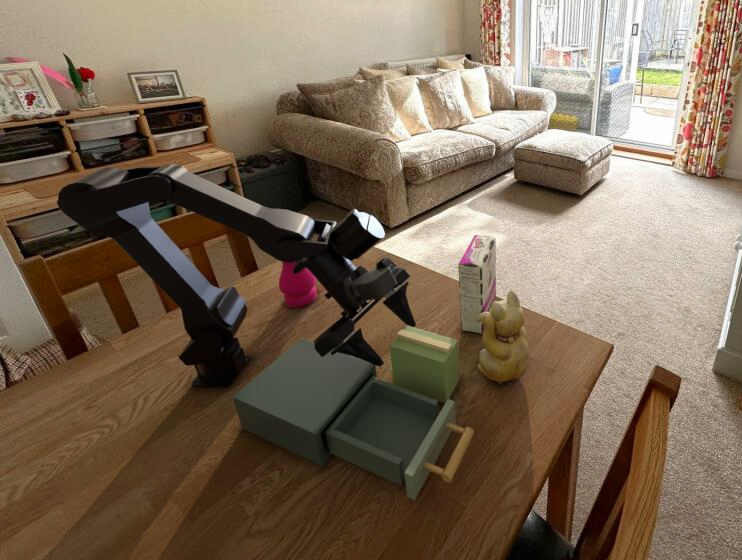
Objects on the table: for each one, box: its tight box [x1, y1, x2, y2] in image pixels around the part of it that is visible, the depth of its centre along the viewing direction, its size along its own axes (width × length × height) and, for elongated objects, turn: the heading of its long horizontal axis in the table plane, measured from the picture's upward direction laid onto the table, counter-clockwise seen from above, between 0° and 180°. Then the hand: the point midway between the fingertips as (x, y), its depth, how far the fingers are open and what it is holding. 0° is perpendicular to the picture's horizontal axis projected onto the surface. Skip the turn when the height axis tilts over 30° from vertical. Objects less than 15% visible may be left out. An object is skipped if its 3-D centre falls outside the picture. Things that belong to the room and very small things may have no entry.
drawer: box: [325, 376, 475, 501], centre depth 58 cm, size 19×11×5 cm, turn 70°
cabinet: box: [232, 338, 378, 467], centre depth 63 cm, size 16×13×7 cm
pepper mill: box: [278, 261, 318, 308], centre depth 86 cm, size 7×7×20 cm
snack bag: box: [389, 325, 460, 404], centre depth 68 cm, size 5×10×10 cm, turn 71°
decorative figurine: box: [477, 289, 530, 385], centre depth 70 cm, size 10×8×15 cm
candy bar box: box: [457, 234, 497, 335], centre depth 83 cm, size 11×5×16 cm, turn 168°
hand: (398, 344), depth 68 cm, fingers open, 9 cm apart
